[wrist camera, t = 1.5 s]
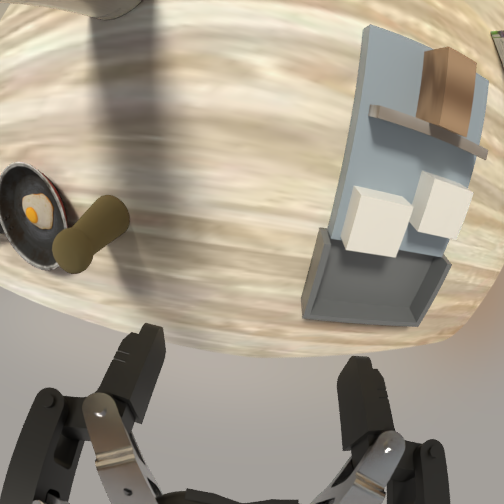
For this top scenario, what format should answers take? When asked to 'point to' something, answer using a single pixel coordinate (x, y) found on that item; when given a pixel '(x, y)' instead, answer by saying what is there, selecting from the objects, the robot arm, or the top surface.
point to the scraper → (441, 100)
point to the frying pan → (31, 214)
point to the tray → (370, 285)
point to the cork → (90, 234)
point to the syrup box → (499, 43)
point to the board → (398, 134)
